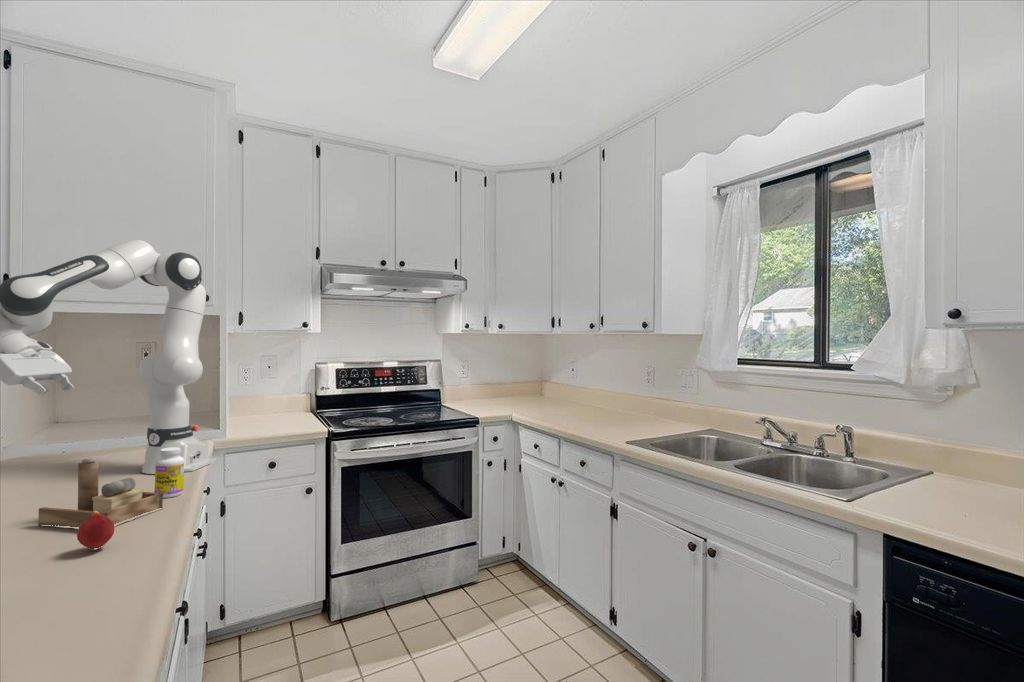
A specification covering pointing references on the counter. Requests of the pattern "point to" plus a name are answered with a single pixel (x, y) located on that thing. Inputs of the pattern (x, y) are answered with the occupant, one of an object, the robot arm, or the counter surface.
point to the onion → (95, 531)
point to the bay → (115, 515)
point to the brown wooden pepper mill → (87, 483)
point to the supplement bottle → (169, 473)
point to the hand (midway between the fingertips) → (57, 391)
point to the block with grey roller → (116, 495)
